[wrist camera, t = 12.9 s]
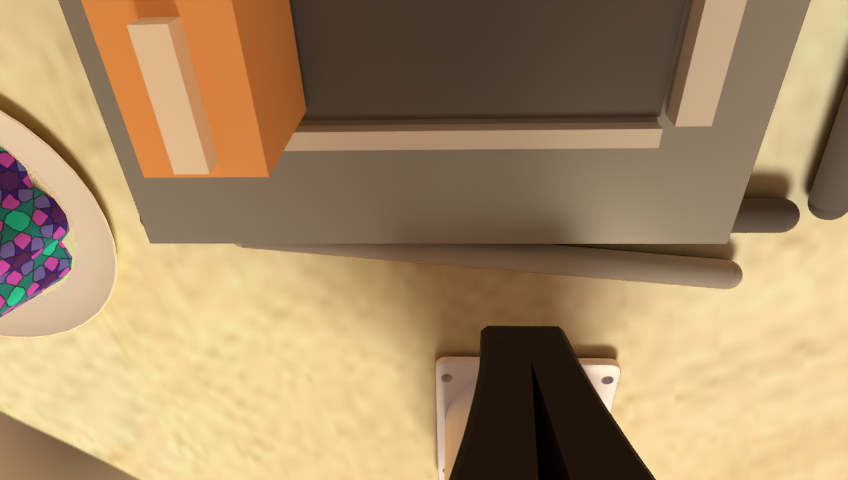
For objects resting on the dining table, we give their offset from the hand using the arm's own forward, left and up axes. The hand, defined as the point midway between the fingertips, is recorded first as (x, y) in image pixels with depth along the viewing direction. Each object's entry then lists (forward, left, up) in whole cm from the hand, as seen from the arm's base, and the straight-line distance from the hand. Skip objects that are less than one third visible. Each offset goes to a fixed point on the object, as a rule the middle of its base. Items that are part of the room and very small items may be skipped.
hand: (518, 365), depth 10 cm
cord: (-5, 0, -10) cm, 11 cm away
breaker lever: (+3, +7, -9) cm, 11 cm away
